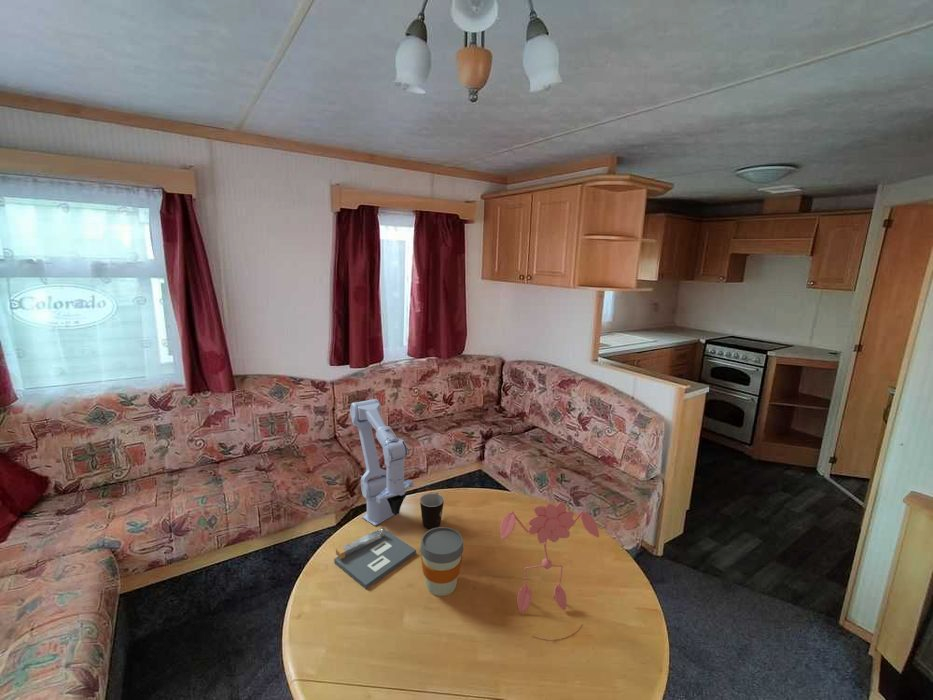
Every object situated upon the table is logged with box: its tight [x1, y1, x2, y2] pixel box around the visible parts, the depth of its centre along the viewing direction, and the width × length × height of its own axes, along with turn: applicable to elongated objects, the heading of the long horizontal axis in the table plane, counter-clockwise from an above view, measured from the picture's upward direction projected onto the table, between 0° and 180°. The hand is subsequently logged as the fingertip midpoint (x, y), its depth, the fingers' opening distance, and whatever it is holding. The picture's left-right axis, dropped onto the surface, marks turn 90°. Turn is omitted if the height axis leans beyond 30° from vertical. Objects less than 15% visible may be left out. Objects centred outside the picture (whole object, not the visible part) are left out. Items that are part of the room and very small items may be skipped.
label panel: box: [333, 527, 417, 590], centre depth 133 cm, size 20×16×4 cm
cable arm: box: [335, 529, 382, 559], centre depth 136 cm, size 15×3×2 cm, turn 133°
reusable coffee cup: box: [420, 526, 465, 597], centre depth 123 cm, size 13×13×15 cm
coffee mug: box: [419, 492, 445, 531], centre depth 152 cm, size 12×9×10 cm
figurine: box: [499, 501, 600, 643], centre depth 110 cm, size 15×26×35 cm, turn 93°
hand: (395, 513), depth 140 cm, fingers closed
